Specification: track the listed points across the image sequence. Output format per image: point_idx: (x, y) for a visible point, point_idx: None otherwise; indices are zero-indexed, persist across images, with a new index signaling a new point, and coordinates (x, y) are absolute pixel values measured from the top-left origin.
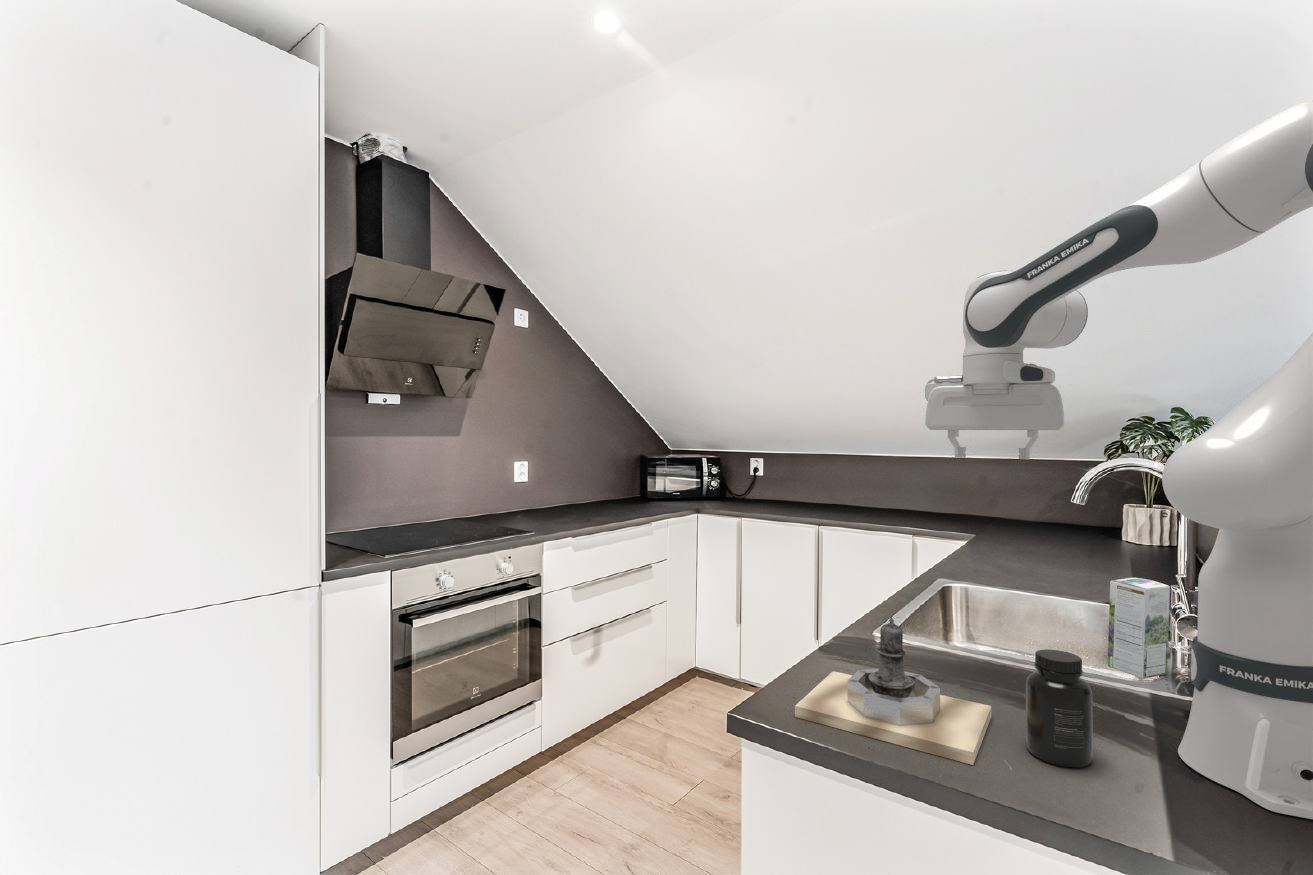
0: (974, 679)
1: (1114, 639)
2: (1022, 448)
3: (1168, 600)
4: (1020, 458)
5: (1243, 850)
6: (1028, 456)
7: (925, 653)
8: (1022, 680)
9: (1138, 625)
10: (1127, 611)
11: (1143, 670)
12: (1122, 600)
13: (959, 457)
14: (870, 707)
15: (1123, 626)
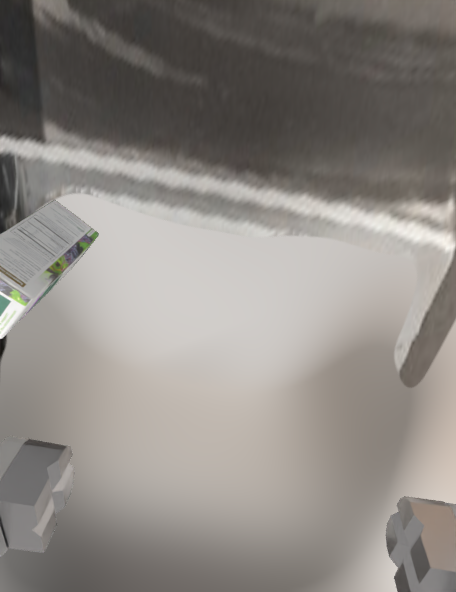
0: (288, 66)
1: (72, 244)
2: (10, 502)
3: None
4: (59, 444)
5: None
6: (3, 444)
7: (366, 172)
8: (212, 105)
9: (21, 233)
10: (28, 253)
11: (49, 203)
12: (27, 267)
13: (433, 501)
14: None
15: (48, 245)
